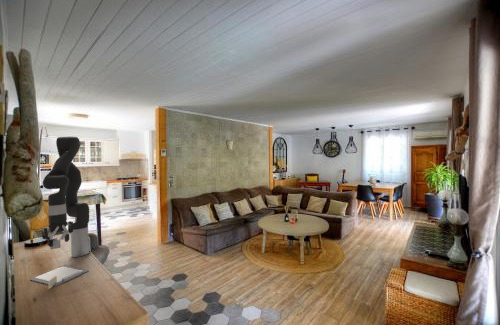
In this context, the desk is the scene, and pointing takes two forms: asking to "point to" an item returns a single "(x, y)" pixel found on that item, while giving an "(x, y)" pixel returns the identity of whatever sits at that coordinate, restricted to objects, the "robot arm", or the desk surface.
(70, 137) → the robot arm
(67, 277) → the clipboard
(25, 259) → the desk surface
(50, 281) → the cream rectangular slab
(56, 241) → the lighter
